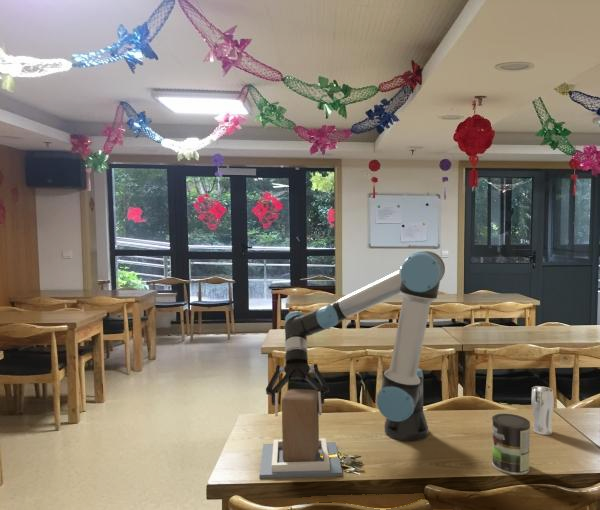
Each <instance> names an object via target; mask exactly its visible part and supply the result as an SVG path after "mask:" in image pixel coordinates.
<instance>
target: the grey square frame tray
mask: <svg viewBox="0 0 600 510" xmlns="http://www.w3.org/2000/svg"><path fill="white" fill-rule="evenodd" d="M261 453H262V454H261V459H260V468H259V479H281V478H318V477H319V478H321V477H343V469H342V465H341V460H340V457H339V458H334V459H333V458H331V459H329V456H328V453H330V454H334V453H338V454H339V450H338V446H337V443H336V441H330V442H329V441H328V442H327V440H326V438H325V437H322V438H320V437H319V451H318V454H317V457H316V461H315V462H284V461H283V443H282V438H280V439H273V443H263V445H262V452H261ZM320 454H323V459H322V458H321V457H320Z"/></svg>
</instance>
